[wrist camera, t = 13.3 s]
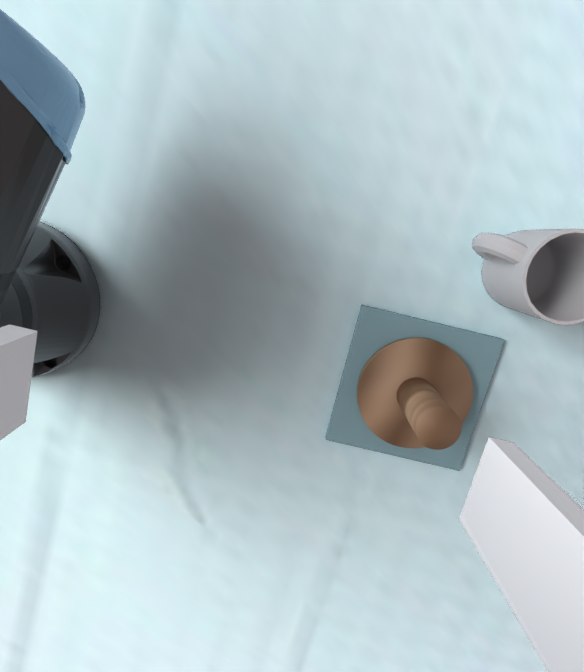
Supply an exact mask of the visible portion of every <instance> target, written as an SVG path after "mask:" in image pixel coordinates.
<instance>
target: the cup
mask: <svg viewBox="0 0 584 672" xmlns="http://www.w3.org/2000/svg"><path fill="white" fill-rule="evenodd" d="M472 248H473V249H474V251H475V252H476V253H477V254H478V255H479V256H481V257H483V258H484V261H483V265H482V271H481V274H482V282H483V285H484V287H485V290H486V291H487V293H488V294H489V295H490V297H491V298H492V299H494V300H495V301H496V302H498V303H499V304H501V305H503V306H506V307H508V308H511V309H514V310H517V311H520V312H523V313H526V314H528V315H531V316H534V317H537V318H540V319H543V320H546V321H549V322H551V323H554V324H563V325H570V324H576V323H581V322H583V321H584V229H546V230H523V231H518V232H512V233H510V234H508V235H505V236H503V235H499V234H492V233H481V234H479V235H477V236H476V237H475V238H474V239H473V242H472Z"/></svg>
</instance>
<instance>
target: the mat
mask: <svg viewBox="0 0 584 672" xmlns="http://www.w3.org/2000/svg"><path fill="white" fill-rule="evenodd" d="M410 337H422V338H428V339H432V340H435V341H438V342H440V343H442V344H444V345H445V346H447V347H449V348H450V349H451V350H453V351H454V352H455V353H456V354H457V355H458V356H459V357H460V358H461V359H462V360H463V362H464V363H465V365H466V366H467V368H468V370H469V372H470V375H471V378H472V383H473V400H472V404H471V408H470V411H469V413H468V415H467V417H466V419H465V421H464V422H463V423H462V430H461V434H460V437H459V438H458V440H457V441H456V442H455V443H454V444H453V445H452V446H450V447H448V448H446V449H442V450H434V449H430V448H427V447H423V448H403V447H398V446H395V445H392V444H389V443H387V442H385V441H384V440H382V439H380V438H379V437H378V436H376V435H375V434H374V433H373V432H372V431H371V430H370V429H369V427H368V426H367V425H366V423H365V421H364V419H363V418H362V415H361V412H360V409H359V406H358V402H357V385H358V380H359V377H360V374H361V371H362V369H363V367H364V366H365V364H366V363H367V361H368V360H369V359H370V358H371V357H372V355H373V354H374V353H376V352H377V351H378V350H379V349H381V348H382V347H384V346H385V345H387V344H389V343H391V342H393V341H396V340H399V339H404V338H410ZM503 343H504V340H503V339H501V338H497V337H493V336H489V335H485V334H480V333H476V332H472V331H468V330H464V329H460V328H456V327H451V326H447V325H443V324H439V323H435V322H431V321H427V320H422V319H418V318H414V317H410V316H406V315H402V314H398V313H393V312H389V311H385V310H381V309H377V308H373V307H369V306H364V305H362V306H361V309H360V313H359V317H358V320H357V324H356V327H355V331H354V335H353V338H352V342H351V346H350V349H349V353H348V357H347V360H346V364H345V368H344V371H343V375H342V379H341V382H340V386H339V390H338V393H337V397H336V401H335V404H334V408H333V412H332V415H331V419H330V423H329V426H328V430H327V434H326V440H329V441H334V442H338V443H342V444H347V445H351V446H355V447H360V448H364V449H368V450H372V451H377V452H381V453H385V454H390V455H394V456H398V457H403V458H407V459H411V460H415V461H420V462H424V463H428V464H433V465H437V466H441V467H445V468H450V469H454V470H458V471H460V468H461V465H462V462H463V459H464V457H465V454H466V451H467V448H468V445H469V442H470V439H471V436H472V433H473V430H474V427H475V425H476V422H477V419H478V416H479V413H480V410H481V407H482V404H483V401H484V398H485V395H486V392H487V390H488V387H489V384H490V381H491V378H492V375H493V372H494V369H495V366H496V363H497V360H498V358H499V355H500V352H501V349H502V346H503Z"/></svg>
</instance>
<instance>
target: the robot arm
mask: <svg viewBox="0 0 584 672" xmlns="http://www.w3.org/2000/svg"><path fill="white" fill-rule="evenodd" d="M84 113H85V97H84V94H83V91H82V88H81V86H80V84H79V83H78V81H77V80H76V78H75V77H74V76H73V74H72V73H71V72H70V71H69V70H68V68H67V67H66V66H65V65H64V64H63V63H62V62H61V61H60V60H59V59H58V58H57V57H56V56H54V55H53V54H52V53H51V52H50V51H49V50H48V49H47V48H46V47H44V46H43V45H42V44H41V43H40V42H39V41H38V40H37V39H35V38H34V37H33V36H32V35H31V34H30V33H29V32H27V31H26V30H25V29H24V28H23V27H21V26H20V25H19V24H18V23H17V22H15V21H14V20H13V19H12V18H11V17H9V16H8V15H7V14H6V13H5V12H3V11H2V10H1V9H0V440H1V439H3V438H4V437H5V436H7V435H8V434H10V433H11V432H12V431H14V430H15V429H16V428H18V427H19V426H21V425H22V424H23V423H25V422H26V415H27V407H28V399H29V392H30V384H31V377H36V376H40V375H44V374H47V373H49V372H52V371H54V370H56V369H58V368H59V367H61V366H63V365H65V364H67V363H69V362H70V361H72V360H73V359H74V358H76V357H77V356H78V355H79V354H80V353H81V352H82V351H83V350H84V349H85V347H86V346H87V345H88V343H89V342H90V340H91V338H92V336H93V334H94V332H95V329H96V327H97V323H98V319H99V312H100V297H99V290H98V285H97V281H96V278H95V275H94V273H93V271H92V269H91V267H90V265H89V263H88V261H87V259H86V258H85V256H84V255H83V254H82V252H81V251H80V250H79V249H78V247H77V246H76V245H75V244H74V243H73V242H72V241H71V240H70V239H68V238H67V237H66V236H65V235H63V234H62V233H61V232H59V231H58V230H56V229H54V228H53V227H51V226H49V225H46V224H44V223H42V222H39V221H40V218H41V216H42V214H43V212H44V210H45V207H46V205H47V203H48V201H49V199H50V196H51V194H52V192H53V190H54V187H55V185H56V183H57V181H58V179H59V176H60V174H61V172H62V170H63V168H64V165H65V164H69V162H70V160H71V153H70V150H71V147H72V145H73V142H74V139H75V137H76V134H77V132H78V129H79V127H80V124H81V122H82V119H83V116H84ZM459 520H460V522H461V523H462V525H463V527H464V529H465V530H466V532H467V534H468V535H469V537H470V539H471V541H472V542H473V544H474V546H475V547H476V549H477V551H478V553H479V554H480V556H481V558H482V560H483V561H484V563H485V565H486V566H487V568H488V570H489V572H490V573H491V575H492V577H493V578H494V580H495V582H496V584H497V585H498V587H499V589H500V591H501V592H502V594H503V596H504V597H505V599H506V601H507V603H508V604H509V606H510V608H511V609H512V611H513V613H514V615H515V616H516V618H517V620H518V621H519V623H520V625H521V627H522V628H523V630H524V632H525V634H526V635H527V637H528V639H529V640H530V642H531V644H532V646H533V647H534V649H535V651H536V652H537V654H538V656H539V658H540V659H541V661H542V663H543V664H544V666H545V668H546V670H547V671H548V672H584V510H583V509H582V508H581V507H580V506H579V505H578V504H577V503H576V502H575V501H574V500H573V499H572V498H571V497H570V496H569V495H568V494H566V493H565V492H564V491H563V490H562V489H561V488H560V487H559V486H558V485H557V484H556V483H555V482H554V481H553V480H552V479H551V478H550V477H549V476H548V475H547V474H546V473H545V472H544V471H542V470H541V469H540V468H539V467H538V466H537V465H536V464H535V463H534V462H533V461H532V460H531V459H530V458H529V457H528V456H527V455H526V454H525V453H524V452H523V451H522V450H521V449H520V448H518V447H517V446H516V445H515V444H514V443H512V442H508V441H504V440H499V439H495V438H491V437H489V438H488V441H487V443H486V446H485V449H484V452H483V454H482V457H481V460H480V462H479V465H478V468H477V471H476V473H475V476H474V479H473V481H472V484H471V487H470V490H469V492H468V495H467V498H466V500H465V503H464V506H463V509H462V511H461V514H460V517H459Z"/></svg>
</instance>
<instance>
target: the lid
mask: <svg viewBox="0 0 584 672" xmlns="http://www.w3.org/2000/svg"><path fill="white" fill-rule="evenodd" d="M472 400H473V383H472V378H471V375H470V372H469V370H468V368H467V366H466V365H465V363H464V362H463V360H462V359H461V358H460V357H459V356H458V355H457V354H456V353H455V352H454V351H453V350H451V349H450V348H449V347H447V346H445V345H444V344H442V343H440V342H438V341H435V340H432V339H428V338H422V337H410V338H404V339H399V340H396V341H393V342H391V343H389V344H387V345H385V346H384V347H382V348H381V349H379V350H378V351H377V352H376V353H374V354H373V355H372V357H371V358H370V359H369V360H368V361H367V363H366V364H365V366H364V367H363V369H362V371H361V374H360V377H359V380H358V385H357V402H358V406H359V409H360V412H361V415H362V418H363V419H364V421H365V423H366V425H367V426H368V427H369V429H370V430H371V431H372V432H373V433H374V434H375V435H376V436H378V437H379V438H380V439H382V440H384V441H385V442H387V443H389V444H392V445H395V446H398V447H403V448H423V447H427V448H430V449H434V450H442V449H446V448H448V447H450V446H452V445H453V444H454V443H455V442H456V441H457V440H458V438H459V437H460V434H461V430H462V423H463V422H464V421H465V419H466V417H467V415H468V413H469V411H470V408H471V404H472Z"/></svg>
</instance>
